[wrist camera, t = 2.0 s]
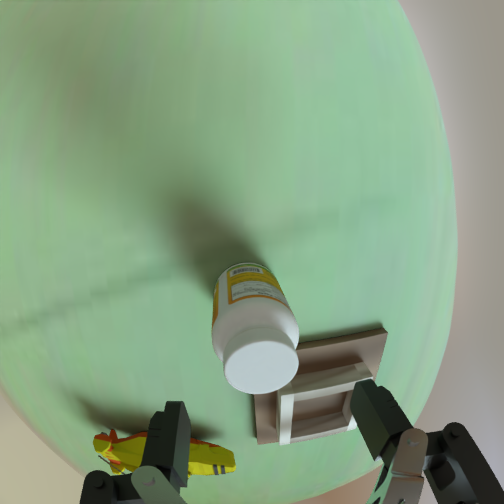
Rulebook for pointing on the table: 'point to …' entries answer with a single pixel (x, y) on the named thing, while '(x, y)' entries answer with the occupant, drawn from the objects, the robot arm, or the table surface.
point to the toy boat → (131, 451)
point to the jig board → (319, 389)
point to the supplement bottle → (254, 329)
